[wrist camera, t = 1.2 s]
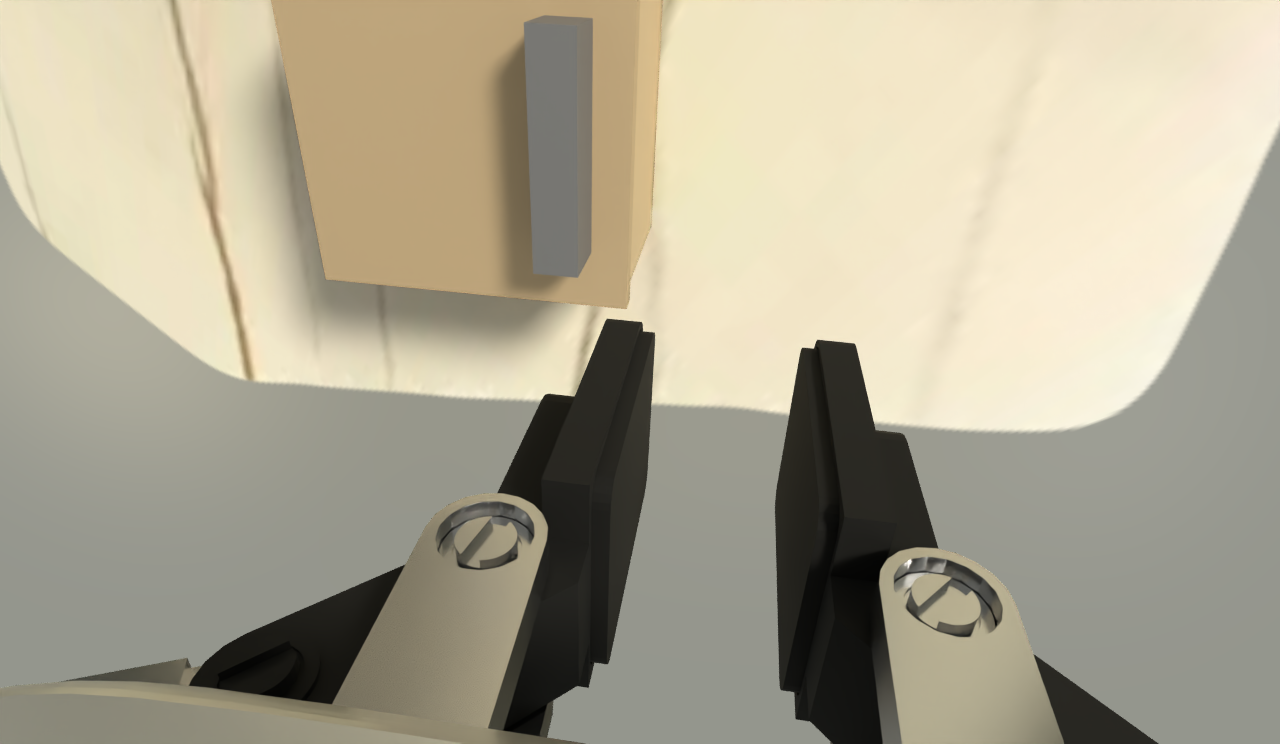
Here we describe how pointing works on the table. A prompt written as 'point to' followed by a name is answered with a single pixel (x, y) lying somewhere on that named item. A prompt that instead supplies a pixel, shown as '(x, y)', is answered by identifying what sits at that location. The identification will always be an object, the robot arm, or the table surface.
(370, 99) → the box lid
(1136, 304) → the table surface
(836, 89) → the table surface
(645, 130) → the shipping box
